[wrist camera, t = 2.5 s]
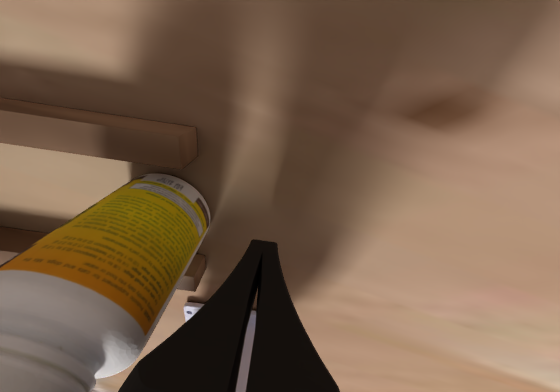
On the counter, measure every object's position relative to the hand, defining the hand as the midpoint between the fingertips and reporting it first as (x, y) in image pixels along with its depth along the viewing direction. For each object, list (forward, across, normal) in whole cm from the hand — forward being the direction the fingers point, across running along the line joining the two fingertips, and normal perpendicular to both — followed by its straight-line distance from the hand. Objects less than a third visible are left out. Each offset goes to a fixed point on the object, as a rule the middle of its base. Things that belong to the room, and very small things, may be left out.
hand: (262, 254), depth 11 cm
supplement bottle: (+3, +6, 0) cm, 7 cm away
